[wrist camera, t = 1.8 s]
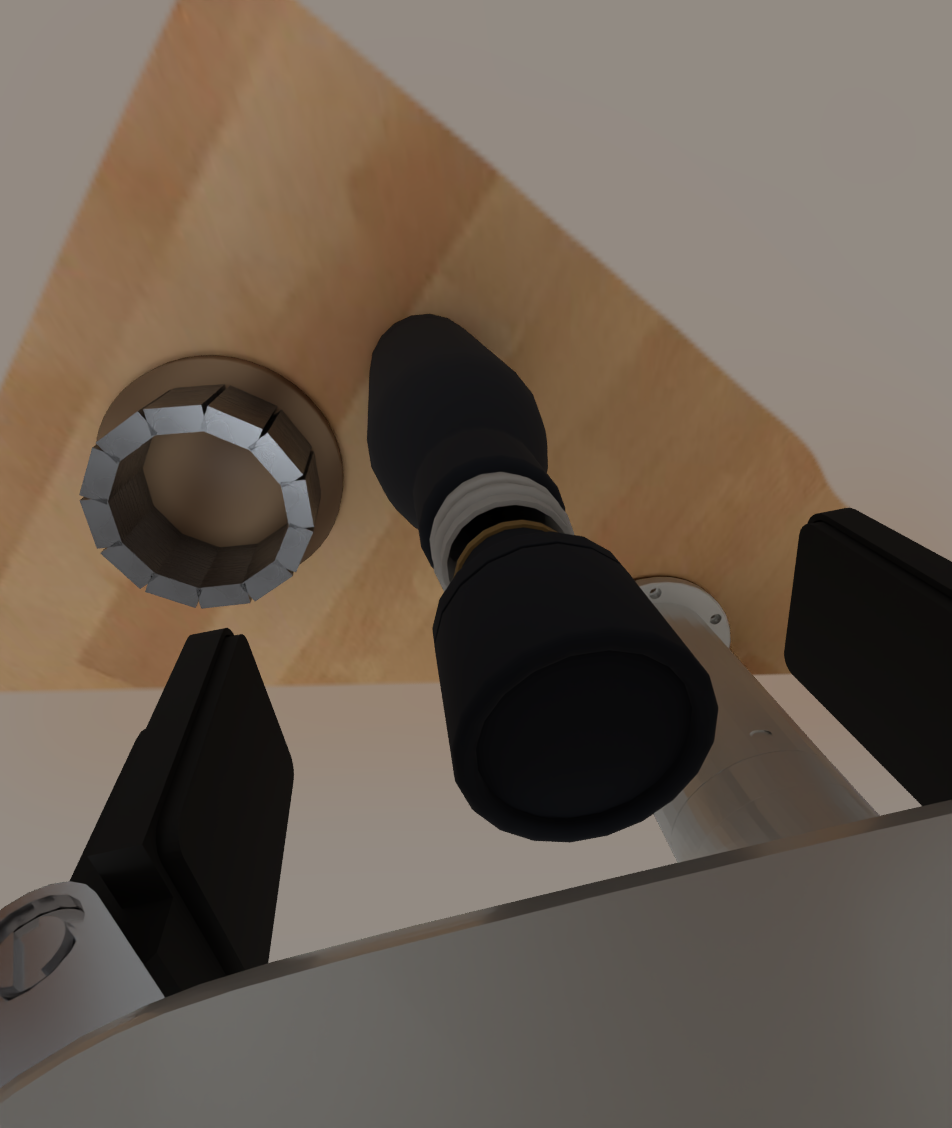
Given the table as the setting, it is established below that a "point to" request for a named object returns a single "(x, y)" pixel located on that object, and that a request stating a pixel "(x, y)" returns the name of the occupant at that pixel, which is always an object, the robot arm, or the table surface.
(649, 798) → the black tall rounded piece
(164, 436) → the bottle stand
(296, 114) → the table surface
